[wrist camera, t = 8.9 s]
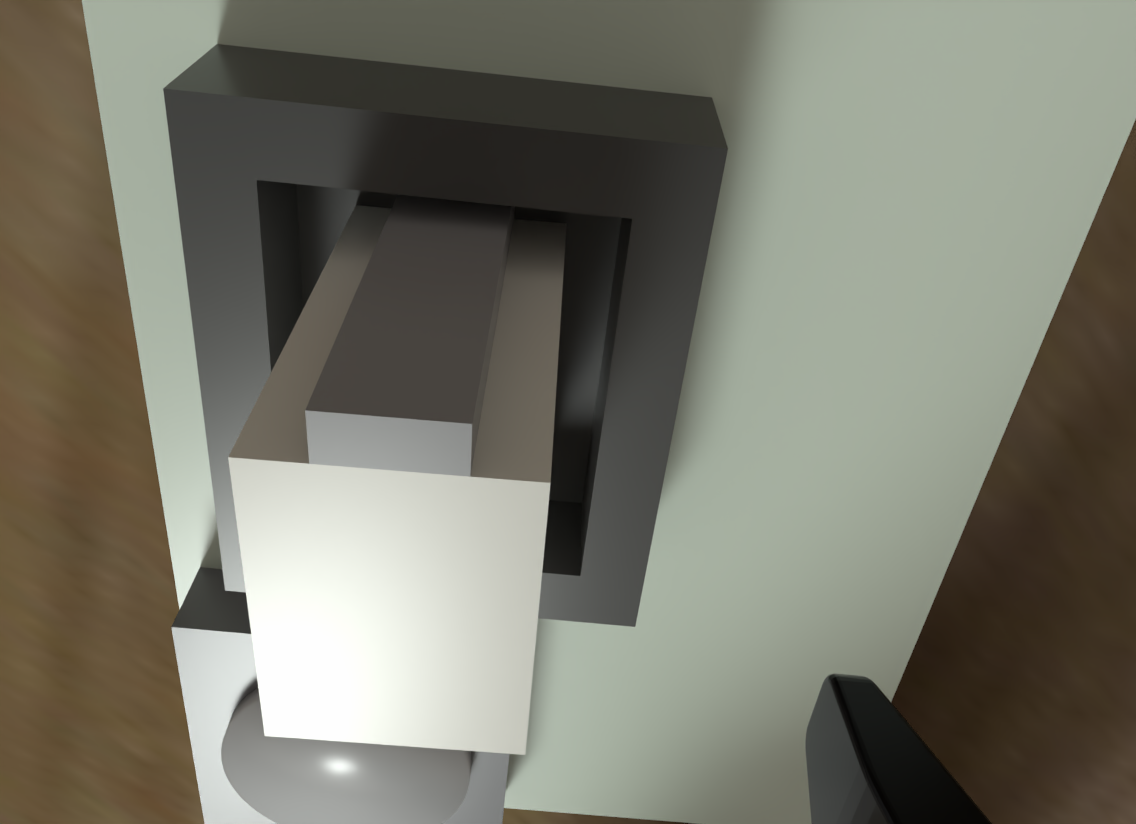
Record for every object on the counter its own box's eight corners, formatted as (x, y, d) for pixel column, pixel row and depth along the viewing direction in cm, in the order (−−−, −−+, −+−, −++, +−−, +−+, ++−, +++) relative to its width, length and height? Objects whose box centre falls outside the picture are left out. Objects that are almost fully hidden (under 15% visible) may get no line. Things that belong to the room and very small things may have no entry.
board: (827, 796, 24) (854, 921, 21) (221, 745, 23) (176, 868, 21) (1154, -30, 14) (1279, 25, 11) (92, -152, 13) (-26, -122, 11)
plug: (546, 449, 17) (524, 754, 12) (364, 434, 17) (264, 735, 12) (570, 183, 14) (555, 430, 9) (353, 164, 14) (221, 403, 9)
